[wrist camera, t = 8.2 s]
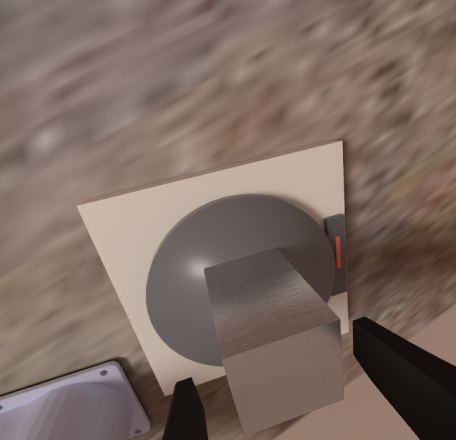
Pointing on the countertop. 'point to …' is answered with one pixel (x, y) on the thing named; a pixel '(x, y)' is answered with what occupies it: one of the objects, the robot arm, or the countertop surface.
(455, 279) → the countertop surface
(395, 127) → the countertop surface
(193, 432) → the robot arm
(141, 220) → the kitchen scale
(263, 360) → the block
